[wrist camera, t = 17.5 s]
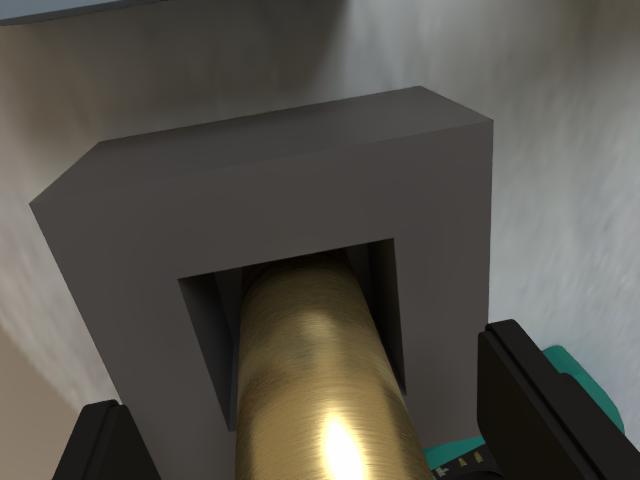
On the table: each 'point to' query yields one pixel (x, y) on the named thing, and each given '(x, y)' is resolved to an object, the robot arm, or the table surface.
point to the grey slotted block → (278, 254)
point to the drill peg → (317, 379)
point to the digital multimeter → (474, 455)
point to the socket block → (57, 9)
